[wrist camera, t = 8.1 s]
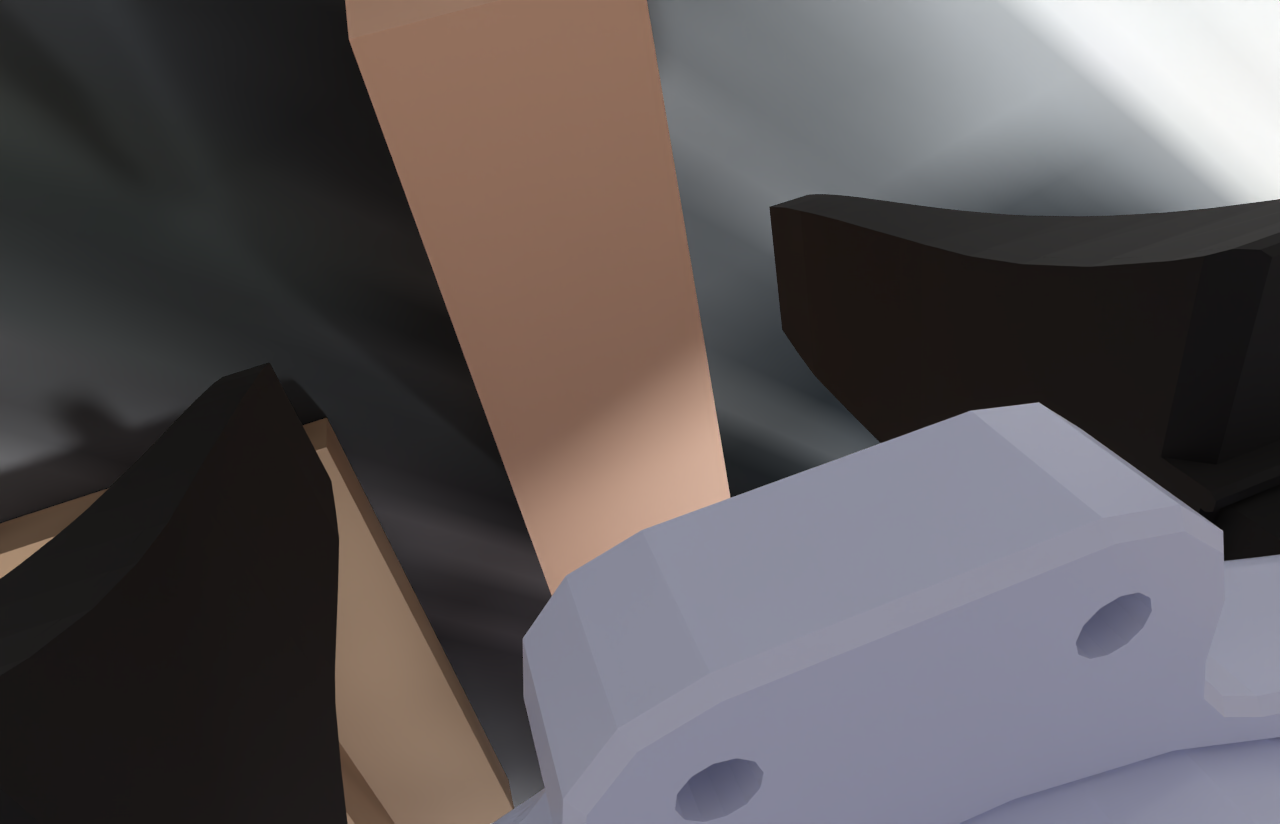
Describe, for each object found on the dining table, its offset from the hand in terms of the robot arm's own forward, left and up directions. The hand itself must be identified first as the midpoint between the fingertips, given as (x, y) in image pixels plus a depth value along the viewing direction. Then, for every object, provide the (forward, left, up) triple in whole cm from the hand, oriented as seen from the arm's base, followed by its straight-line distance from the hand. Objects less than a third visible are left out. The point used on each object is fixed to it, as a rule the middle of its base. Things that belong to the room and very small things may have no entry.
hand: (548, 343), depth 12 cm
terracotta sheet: (0, 0, -4) cm, 4 cm away
